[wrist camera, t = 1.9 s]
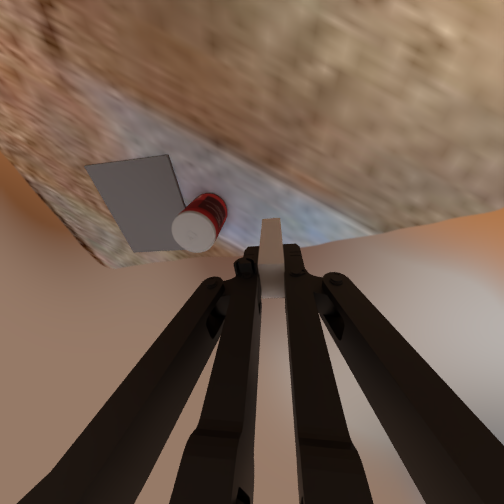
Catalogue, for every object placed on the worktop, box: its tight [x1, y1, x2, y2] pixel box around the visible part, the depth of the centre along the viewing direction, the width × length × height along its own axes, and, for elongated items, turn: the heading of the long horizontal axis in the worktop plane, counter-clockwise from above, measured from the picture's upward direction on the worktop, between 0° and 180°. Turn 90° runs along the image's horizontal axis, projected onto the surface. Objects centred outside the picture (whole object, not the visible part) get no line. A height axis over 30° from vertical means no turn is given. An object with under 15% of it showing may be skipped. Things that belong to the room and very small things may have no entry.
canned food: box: [172, 194, 227, 253], centre depth 36 cm, size 8×8×11 cm
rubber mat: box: [84, 155, 186, 252], centre depth 41 cm, size 21×18×1 cm
